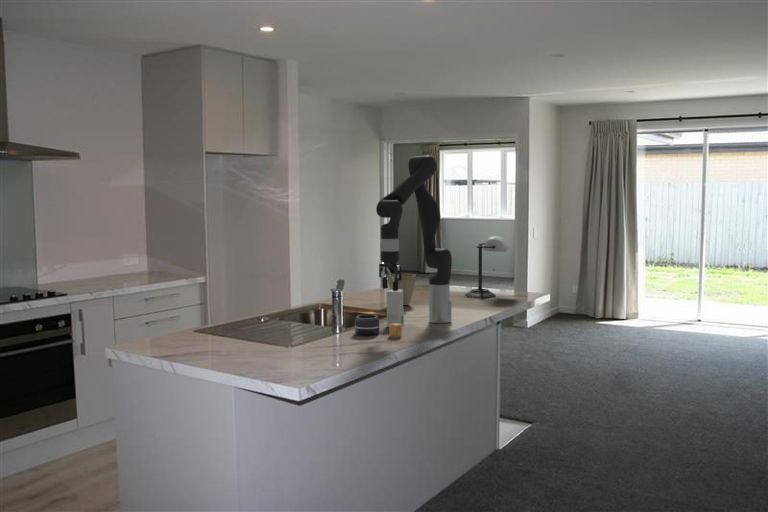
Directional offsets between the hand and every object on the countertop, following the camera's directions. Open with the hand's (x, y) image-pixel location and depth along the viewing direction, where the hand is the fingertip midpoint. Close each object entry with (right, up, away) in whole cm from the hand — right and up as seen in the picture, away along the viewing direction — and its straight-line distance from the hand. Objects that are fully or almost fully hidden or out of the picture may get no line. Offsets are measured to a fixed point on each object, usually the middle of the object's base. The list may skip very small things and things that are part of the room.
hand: (390, 289), depth 266 cm
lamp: (+55, -9, +106) cm, 119 cm away
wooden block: (+2, -19, +1) cm, 19 cm away
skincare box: (+2, -17, +24) cm, 29 cm away
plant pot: (+7, -12, +77) cm, 79 cm away
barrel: (-9, -19, +7) cm, 22 cm away
